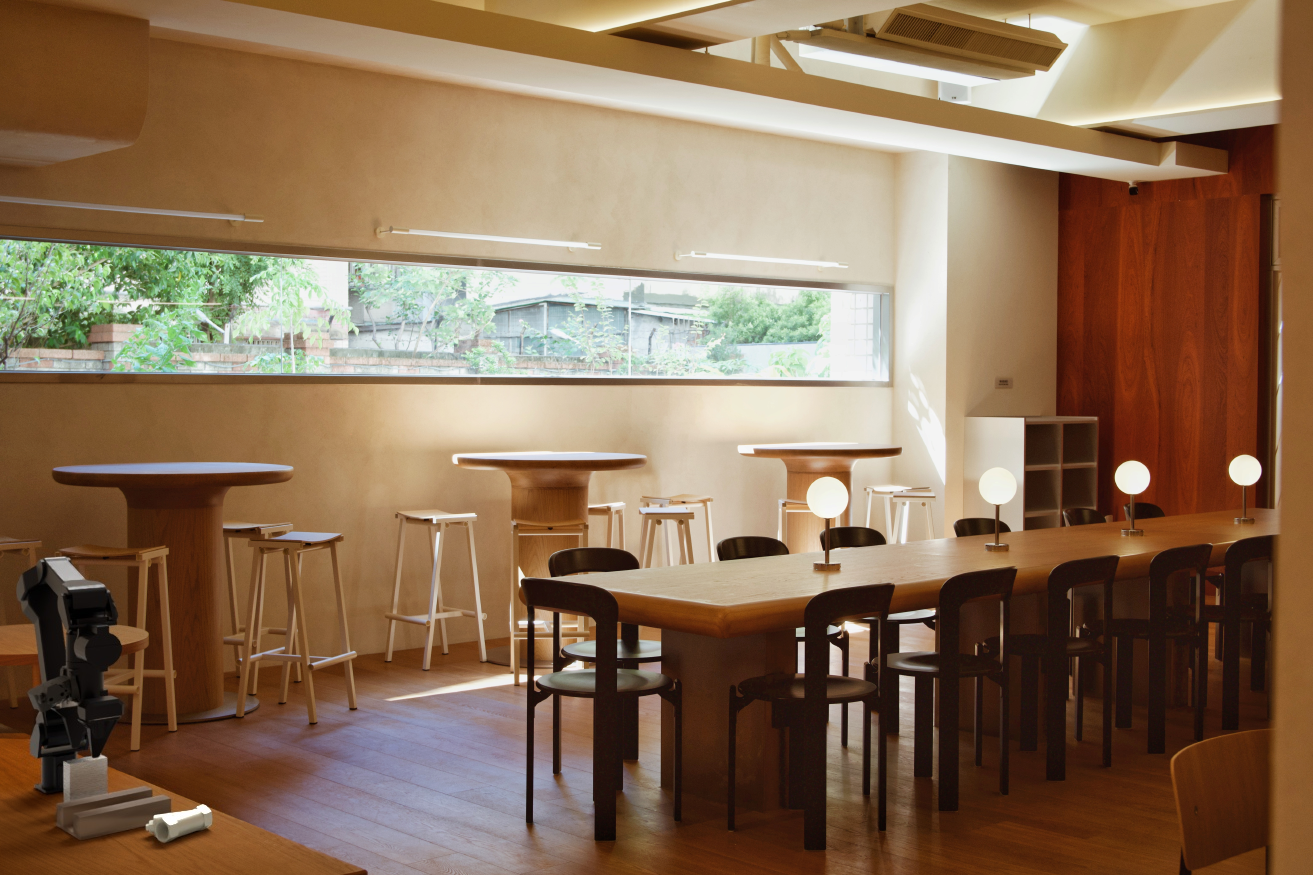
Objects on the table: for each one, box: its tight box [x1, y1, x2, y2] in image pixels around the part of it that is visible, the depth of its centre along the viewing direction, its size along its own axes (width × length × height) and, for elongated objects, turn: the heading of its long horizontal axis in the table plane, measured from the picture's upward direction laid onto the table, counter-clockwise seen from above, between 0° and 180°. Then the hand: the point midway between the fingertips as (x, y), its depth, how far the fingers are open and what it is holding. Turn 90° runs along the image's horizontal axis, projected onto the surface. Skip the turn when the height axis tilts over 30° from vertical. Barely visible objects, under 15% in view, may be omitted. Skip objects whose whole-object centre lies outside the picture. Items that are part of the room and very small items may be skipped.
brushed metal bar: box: [63, 753, 109, 802], centre depth 203 cm, size 3×6×8 cm, turn 135°
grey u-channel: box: [56, 785, 172, 841], centre depth 194 cm, size 10×14×4 cm
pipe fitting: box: [145, 804, 213, 844], centre depth 188 cm, size 8×4×7 cm
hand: (85, 752), depth 203 cm, fingers open, 9 cm apart
